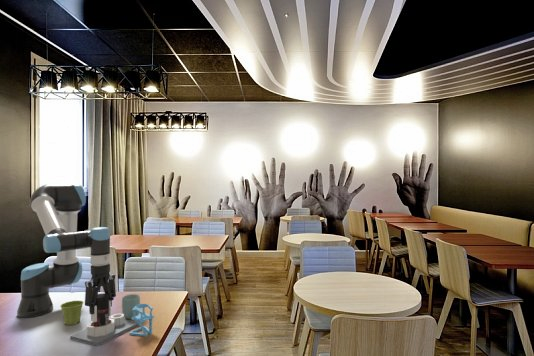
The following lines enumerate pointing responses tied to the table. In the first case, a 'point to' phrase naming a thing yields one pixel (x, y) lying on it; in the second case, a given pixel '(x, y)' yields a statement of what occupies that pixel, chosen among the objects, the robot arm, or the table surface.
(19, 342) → the table surface
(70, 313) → the plant pot
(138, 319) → the chair
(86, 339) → the bore plate
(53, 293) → the table surface
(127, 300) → the cup
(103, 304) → the deodorant
